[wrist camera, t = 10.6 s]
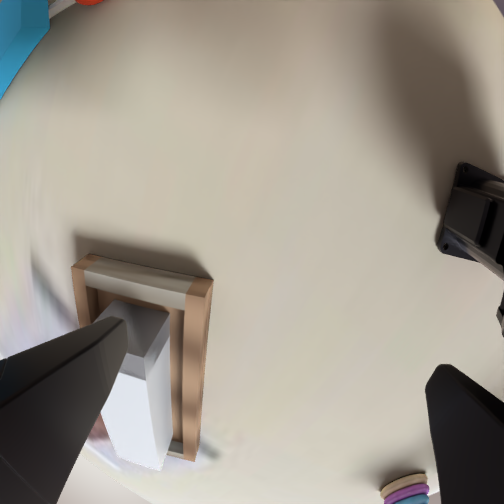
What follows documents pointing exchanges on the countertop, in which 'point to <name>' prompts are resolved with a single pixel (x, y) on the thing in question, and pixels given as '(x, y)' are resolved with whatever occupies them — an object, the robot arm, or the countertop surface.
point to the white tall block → (141, 388)
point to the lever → (25, 31)
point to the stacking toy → (407, 490)
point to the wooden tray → (181, 328)
